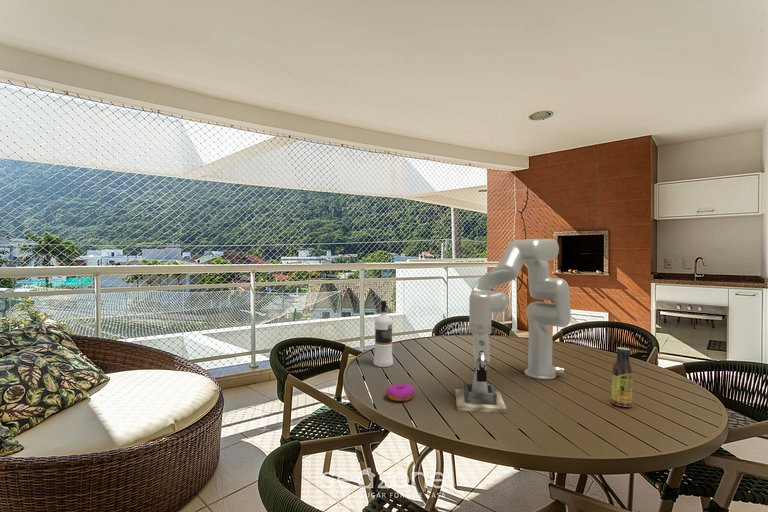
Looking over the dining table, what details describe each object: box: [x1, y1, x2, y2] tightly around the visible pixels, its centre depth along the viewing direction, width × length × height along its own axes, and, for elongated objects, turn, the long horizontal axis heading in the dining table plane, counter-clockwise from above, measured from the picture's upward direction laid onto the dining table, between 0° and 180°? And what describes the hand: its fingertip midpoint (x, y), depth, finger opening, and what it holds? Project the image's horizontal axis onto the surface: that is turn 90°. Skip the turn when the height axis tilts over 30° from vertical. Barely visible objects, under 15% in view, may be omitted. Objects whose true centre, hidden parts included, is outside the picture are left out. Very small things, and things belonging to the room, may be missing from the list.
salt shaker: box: [471, 362, 488, 393], centre depth 136 cm, size 6×6×13 cm
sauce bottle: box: [610, 346, 634, 406], centre depth 135 cm, size 6×6×20 cm
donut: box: [385, 383, 415, 402], centre depth 140 cm, size 10×10×5 cm
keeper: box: [454, 382, 508, 414], centre depth 136 cm, size 16×16×5 cm
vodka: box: [372, 300, 394, 368], centre depth 180 cm, size 9×9×30 cm
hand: (480, 376), depth 136 cm, fingers open, 9 cm apart
